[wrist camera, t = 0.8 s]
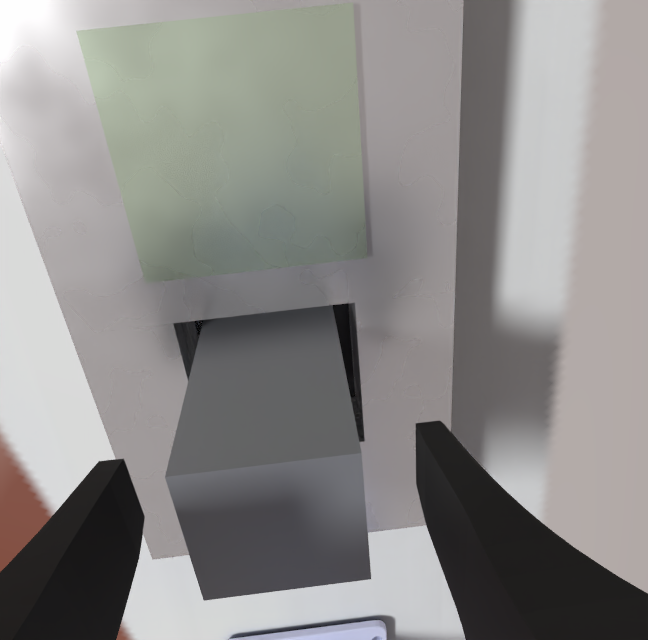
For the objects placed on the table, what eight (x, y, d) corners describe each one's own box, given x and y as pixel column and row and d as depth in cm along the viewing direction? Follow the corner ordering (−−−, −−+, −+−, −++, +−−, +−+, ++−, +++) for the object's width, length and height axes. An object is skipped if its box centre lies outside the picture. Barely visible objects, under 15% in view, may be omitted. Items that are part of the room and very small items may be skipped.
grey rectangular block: (337, 384, 20) (370, 579, 13) (229, 397, 20) (203, 600, 13) (328, 285, 18) (361, 452, 11) (208, 300, 18) (164, 477, 11)
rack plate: (431, 473, 22) (449, 526, 20) (165, 506, 22) (151, 564, 20) (436, -152, 13) (472, -192, 10) (-35, -107, 13) (-108, -137, 10)
